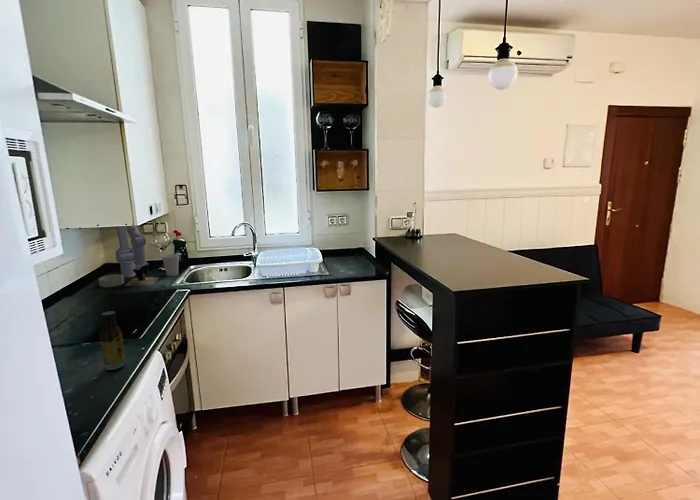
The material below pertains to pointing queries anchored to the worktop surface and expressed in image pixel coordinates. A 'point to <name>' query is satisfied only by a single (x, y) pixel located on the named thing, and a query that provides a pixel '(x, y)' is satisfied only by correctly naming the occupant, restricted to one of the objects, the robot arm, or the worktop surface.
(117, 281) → the bowl
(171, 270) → the foam cup
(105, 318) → the sauce bottle
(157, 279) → the mat
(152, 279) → the lid
